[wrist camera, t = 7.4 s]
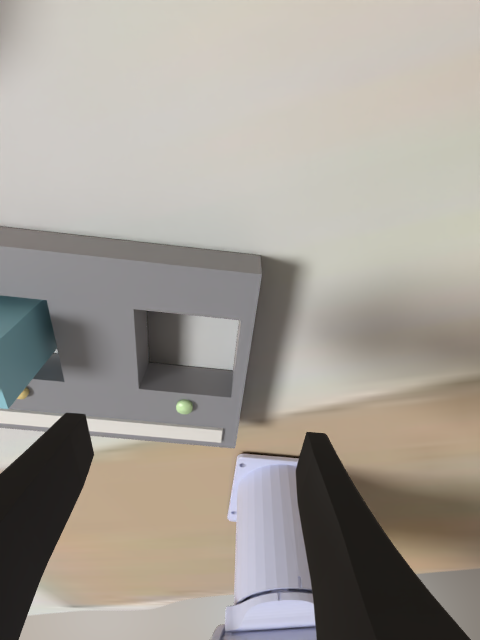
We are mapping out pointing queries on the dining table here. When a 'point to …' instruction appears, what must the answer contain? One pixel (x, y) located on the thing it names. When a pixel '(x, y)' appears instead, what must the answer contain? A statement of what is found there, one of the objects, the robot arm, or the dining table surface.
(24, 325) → the plug
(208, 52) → the dining table surface
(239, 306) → the panel
